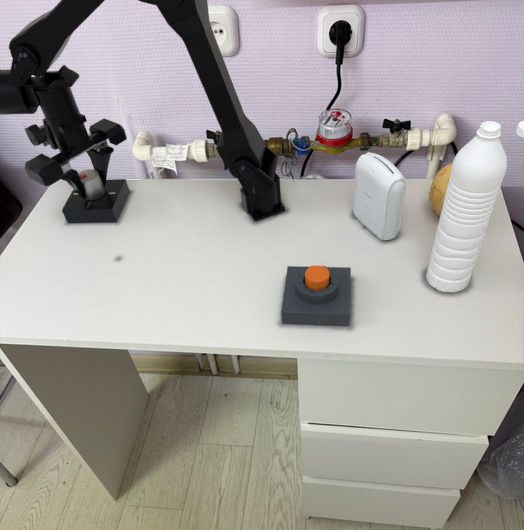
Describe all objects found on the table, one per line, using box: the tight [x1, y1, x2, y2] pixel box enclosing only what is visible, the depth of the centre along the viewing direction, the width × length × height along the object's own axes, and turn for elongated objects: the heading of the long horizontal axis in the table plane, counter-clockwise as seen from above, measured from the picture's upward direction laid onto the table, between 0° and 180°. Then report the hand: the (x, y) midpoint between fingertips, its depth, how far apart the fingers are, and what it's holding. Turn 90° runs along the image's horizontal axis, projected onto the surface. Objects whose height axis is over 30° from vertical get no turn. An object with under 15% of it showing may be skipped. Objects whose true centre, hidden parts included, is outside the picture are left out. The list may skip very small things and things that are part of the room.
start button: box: [305, 265, 329, 290], centre depth 74 cm, size 4×4×2 cm
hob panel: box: [61, 178, 131, 224], centre depth 97 cm, size 10×10×3 cm
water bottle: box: [425, 120, 524, 294], centre depth 68 cm, size 9×6×25 cm
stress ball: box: [427, 162, 453, 217], centre depth 84 cm, size 10×10×10 cm
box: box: [280, 265, 352, 327], centre depth 76 cm, size 10×10×4 cm
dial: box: [78, 168, 105, 201], centre depth 94 cm, size 4×4×4 cm
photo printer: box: [352, 151, 407, 241], centre depth 83 cm, size 10×4×12 cm, turn 26°
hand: (93, 191), depth 96 cm, fingers closed on dial, 4 cm apart
